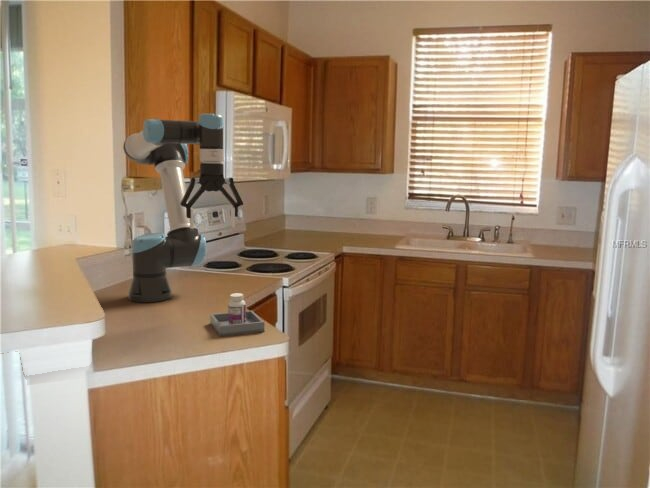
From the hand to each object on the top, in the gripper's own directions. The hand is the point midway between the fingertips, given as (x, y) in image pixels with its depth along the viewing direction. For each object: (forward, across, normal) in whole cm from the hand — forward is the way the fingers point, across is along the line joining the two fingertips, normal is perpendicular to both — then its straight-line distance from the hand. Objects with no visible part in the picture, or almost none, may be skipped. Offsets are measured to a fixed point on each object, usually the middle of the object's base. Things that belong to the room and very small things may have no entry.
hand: (212, 227), depth 186 cm
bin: (+29, +3, -20) cm, 35 cm away
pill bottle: (+28, +3, -20) cm, 35 cm away
